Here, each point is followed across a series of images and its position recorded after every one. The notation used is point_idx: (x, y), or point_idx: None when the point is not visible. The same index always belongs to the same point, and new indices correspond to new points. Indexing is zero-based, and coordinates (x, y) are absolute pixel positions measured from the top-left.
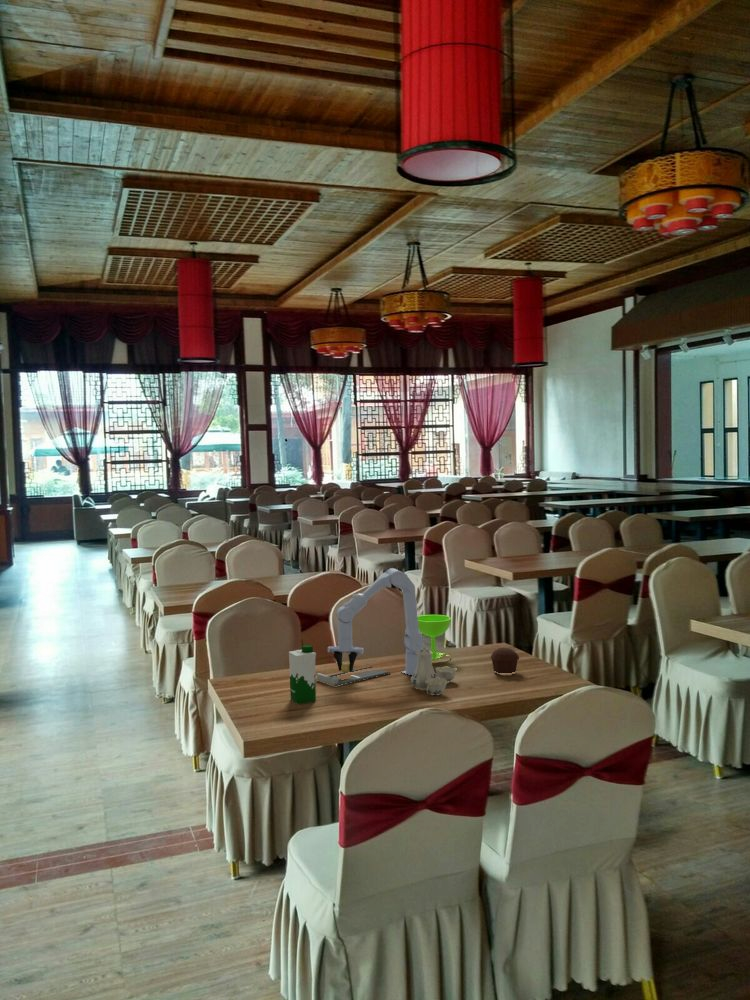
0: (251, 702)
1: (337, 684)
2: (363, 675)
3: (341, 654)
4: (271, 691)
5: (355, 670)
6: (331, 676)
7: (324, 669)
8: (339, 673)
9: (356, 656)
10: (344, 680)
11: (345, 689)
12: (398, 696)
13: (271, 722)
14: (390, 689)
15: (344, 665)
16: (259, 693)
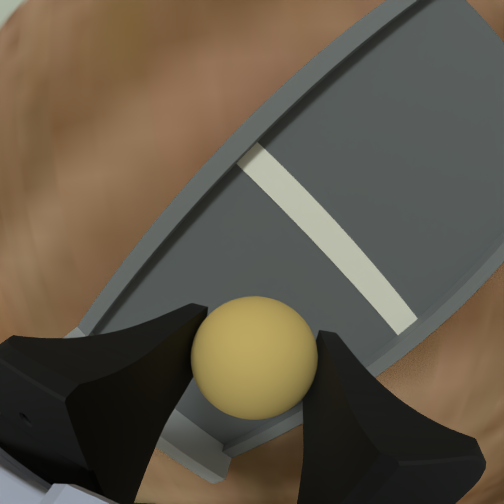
0: None
1: (232, 454)
2: (424, 227)
3: (112, 425)
4: None
5: (332, 69)
6: (136, 273)
7: (70, 31)
8: (185, 209)
9: (435, 431)
10: None
11: (287, 476)
12: (479, 492)
13: None
14: (493, 447)
15: (237, 417)
16: None
